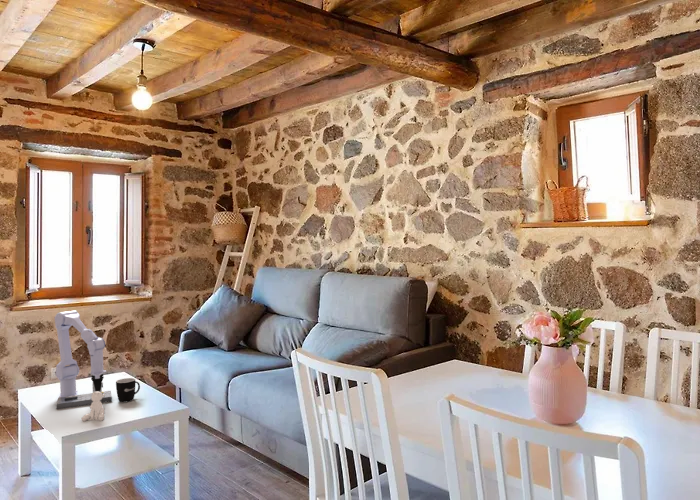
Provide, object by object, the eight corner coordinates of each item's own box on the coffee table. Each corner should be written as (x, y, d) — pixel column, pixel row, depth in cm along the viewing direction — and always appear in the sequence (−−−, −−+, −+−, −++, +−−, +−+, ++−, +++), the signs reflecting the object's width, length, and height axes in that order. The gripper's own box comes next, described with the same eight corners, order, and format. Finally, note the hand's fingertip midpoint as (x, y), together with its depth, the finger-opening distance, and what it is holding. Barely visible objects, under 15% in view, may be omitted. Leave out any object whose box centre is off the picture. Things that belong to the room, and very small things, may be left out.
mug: (122, 404, 257) (122, 383, 257) (112, 401, 263) (112, 381, 263) (145, 398, 267) (144, 378, 267) (135, 395, 272) (134, 375, 272)
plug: (93, 396, 266) (92, 382, 266) (103, 394, 268) (102, 381, 268) (92, 398, 262) (92, 384, 262) (103, 396, 264) (102, 382, 264)
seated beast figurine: (80, 421, 233) (79, 394, 233) (90, 415, 242) (89, 389, 242) (102, 421, 233) (101, 394, 233) (110, 414, 242) (110, 388, 242)
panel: (58, 402, 263) (58, 397, 263) (111, 395, 273) (110, 390, 273) (56, 409, 252) (56, 403, 252) (111, 401, 262) (111, 396, 262)
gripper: (106, 364, 260) (107, 392, 260) (105, 359, 273) (106, 385, 273) (90, 366, 257) (91, 394, 257) (90, 360, 270) (91, 387, 270)
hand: (97, 389), depth 265 cm, fingers closed on plug, 4 cm apart
